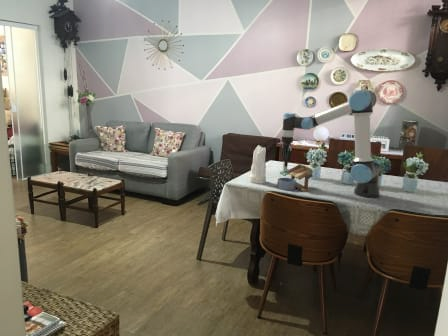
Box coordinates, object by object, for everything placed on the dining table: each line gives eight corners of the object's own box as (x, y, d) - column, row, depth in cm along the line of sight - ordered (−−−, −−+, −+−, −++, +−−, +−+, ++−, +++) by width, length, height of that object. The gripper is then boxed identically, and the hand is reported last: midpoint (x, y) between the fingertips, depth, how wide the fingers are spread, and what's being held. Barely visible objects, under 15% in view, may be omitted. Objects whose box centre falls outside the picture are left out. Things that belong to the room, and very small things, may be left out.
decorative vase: (264, 184, 243) (267, 147, 238) (248, 182, 245) (251, 146, 240) (266, 180, 254) (268, 145, 249) (251, 179, 256) (253, 144, 251)
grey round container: (298, 189, 233) (298, 181, 232) (282, 190, 230) (283, 182, 229) (290, 185, 244) (290, 177, 242) (275, 186, 240) (275, 178, 239)
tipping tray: (314, 176, 232) (311, 168, 230) (297, 186, 230) (294, 178, 228) (297, 168, 253) (294, 161, 251) (281, 177, 251) (278, 170, 249)
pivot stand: (310, 191, 231) (311, 176, 229) (302, 191, 229) (303, 176, 227) (295, 183, 250) (296, 169, 247) (287, 183, 248) (288, 169, 246)
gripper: (278, 135, 247) (275, 168, 252) (286, 137, 234) (283, 173, 240) (288, 135, 249) (285, 168, 254) (297, 137, 237) (294, 172, 242)
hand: (284, 170), depth 247 cm, fingers closed
